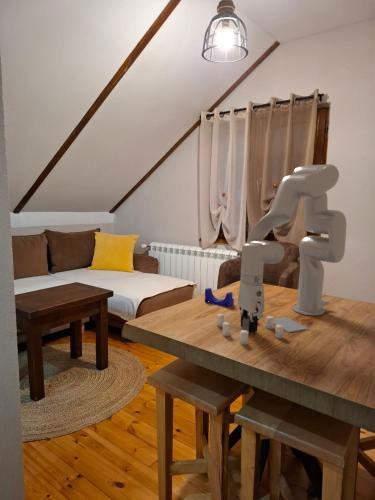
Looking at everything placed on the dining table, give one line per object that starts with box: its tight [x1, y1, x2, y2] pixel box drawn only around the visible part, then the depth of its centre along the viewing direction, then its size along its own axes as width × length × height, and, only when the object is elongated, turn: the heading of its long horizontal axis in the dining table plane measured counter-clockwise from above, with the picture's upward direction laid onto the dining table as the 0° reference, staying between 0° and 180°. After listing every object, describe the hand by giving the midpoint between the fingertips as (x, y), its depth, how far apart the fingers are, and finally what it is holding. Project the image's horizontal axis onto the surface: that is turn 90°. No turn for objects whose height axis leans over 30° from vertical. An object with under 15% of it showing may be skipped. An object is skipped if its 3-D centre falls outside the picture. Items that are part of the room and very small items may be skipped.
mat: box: [274, 317, 309, 334], centre depth 129 cm, size 9×12×1 cm
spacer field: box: [216, 311, 284, 346], centre depth 122 cm, size 21×19×4 cm
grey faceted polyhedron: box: [241, 314, 256, 335], centre depth 122 cm, size 5×4×5 cm
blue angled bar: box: [204, 287, 235, 308], centre depth 152 cm, size 12×4×6 cm, turn 56°
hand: (248, 328), depth 122 cm, fingers closed on grey faceted polyhedron, 4 cm apart
